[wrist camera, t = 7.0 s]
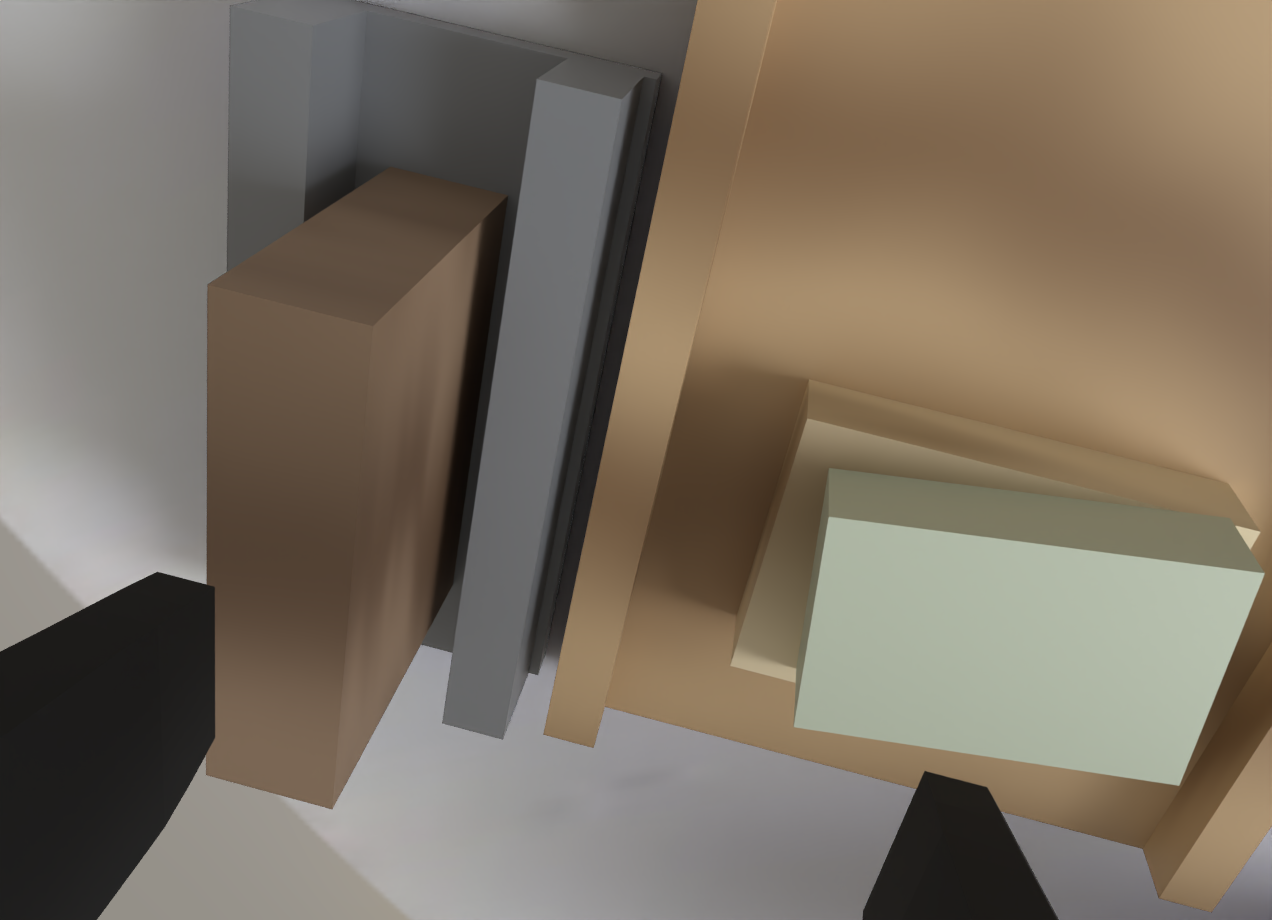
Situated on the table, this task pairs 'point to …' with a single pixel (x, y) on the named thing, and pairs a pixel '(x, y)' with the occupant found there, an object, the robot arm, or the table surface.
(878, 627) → the offcut
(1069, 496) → the offcut
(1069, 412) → the tray
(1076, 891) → the table surface
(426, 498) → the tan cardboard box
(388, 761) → the table surface
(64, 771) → the robot arm
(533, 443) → the holder
